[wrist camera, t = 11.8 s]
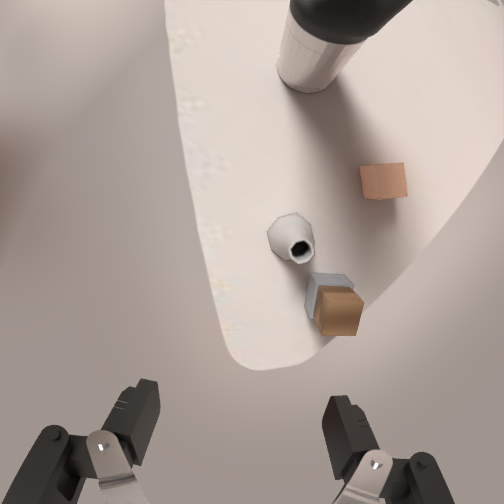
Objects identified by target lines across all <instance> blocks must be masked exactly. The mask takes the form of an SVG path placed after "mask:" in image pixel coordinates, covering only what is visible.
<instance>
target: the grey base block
mask: <svg viewBox="0 0 504 504" xmlns="http://www.w3.org/2000/svg"><path fill="white" fill-rule="evenodd" d="M318 285H327V286H343V287H350V288H351V289H352V290H353V287H354V284H353V283H352V282H351V281H350V280H349V279H348V278H347V277H346V276H345V275H341V274H328V273H316V272H310V274H309V281H308V287H307V293H306V299H305V304H304V307H305V309H306V312H307V314H308V316H309V319H314V317H313V313H314V307H315V302H316V296H317V290H318Z"/></svg>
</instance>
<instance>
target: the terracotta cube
mask: <svg viewBox="0 0 504 504" xmlns="http://www.w3.org/2000/svg"><path fill="white" fill-rule="evenodd" d="M359 169H360V175H361V182H362V190H363V197H364V198H369V199H376V200H383V199H390V198H399V197H407V196H408V194H407V185H406V177H405V170H404V163H389V164H376V165H368V166H361V167H359Z"/></svg>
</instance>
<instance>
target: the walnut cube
mask: <svg viewBox="0 0 504 504" xmlns="http://www.w3.org/2000/svg"><path fill="white" fill-rule="evenodd" d="M363 305H364V302H363V301H362V300H361V299H360V297H359V296H358V295H357V294H356V293H355V292H354V291H353V290H352V289H351V288H350V287H343V286H327V285H318V290H317V296H316V302H315V307H314V313H313V317H314V319H315V322H316V324H317V326H318V328H319V331H320V333H321V335H325V336H355V335H356V333H357V329H358V325H359V321H360V317H361V313H362V309H363Z"/></svg>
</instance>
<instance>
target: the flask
mask: <svg viewBox="0 0 504 504" xmlns="http://www.w3.org/2000/svg"><path fill="white" fill-rule="evenodd" d="M267 235H268V239H269V243H270V247H271V250H272V251H274V252H275V253H276V254H277V255H279V256H280V257H281V258H283V259H284V260H285V261H286V260H290V259H292V260H293V261H294V262H296V263H297V264H298V265H299V264H303V263H307V262H309V261H310V259H311V258H312V257H313V256H314V255H315V252H314V248H313V243H314V237H313V233H312V228H311V224H310V223H308V222H307V221H306V220H305V219H304V218H302V217H301V216H300V215H299V214H297V213H293V214H289V215H286V216H282V217H278V218H277V220H276V221H275V222H274V223H273V225H272V226H271V227H270V228H269V230H268V231H267Z"/></svg>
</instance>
